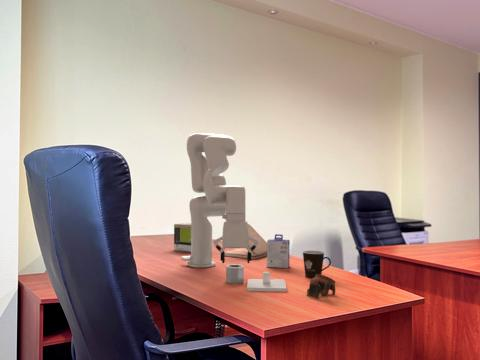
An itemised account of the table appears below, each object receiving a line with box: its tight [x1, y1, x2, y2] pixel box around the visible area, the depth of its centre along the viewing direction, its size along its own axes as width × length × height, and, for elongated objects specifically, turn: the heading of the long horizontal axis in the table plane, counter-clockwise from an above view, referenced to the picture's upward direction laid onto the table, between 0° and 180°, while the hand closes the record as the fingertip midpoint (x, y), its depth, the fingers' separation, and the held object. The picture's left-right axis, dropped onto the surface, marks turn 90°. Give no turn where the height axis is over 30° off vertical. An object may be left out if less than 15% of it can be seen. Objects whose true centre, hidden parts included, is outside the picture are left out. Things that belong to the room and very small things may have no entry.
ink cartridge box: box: [266, 233, 291, 269], centre depth 203 cm, size 10×6×14 cm, turn 78°
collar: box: [225, 263, 245, 285], centre depth 172 cm, size 7×7×6 cm
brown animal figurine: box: [306, 274, 336, 299], centre depth 152 cm, size 12×10×8 cm
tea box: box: [173, 222, 191, 253], centre depth 247 cm, size 15×10×15 cm, turn 58°
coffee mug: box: [302, 250, 332, 279], centre depth 181 cm, size 12×9×10 cm
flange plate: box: [246, 271, 288, 293], centre depth 165 cm, size 14×14×5 cm
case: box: [224, 223, 267, 260], centre depth 233 cm, size 20×21×16 cm
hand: (235, 262), depth 172 cm, fingers open, 9 cm apart
